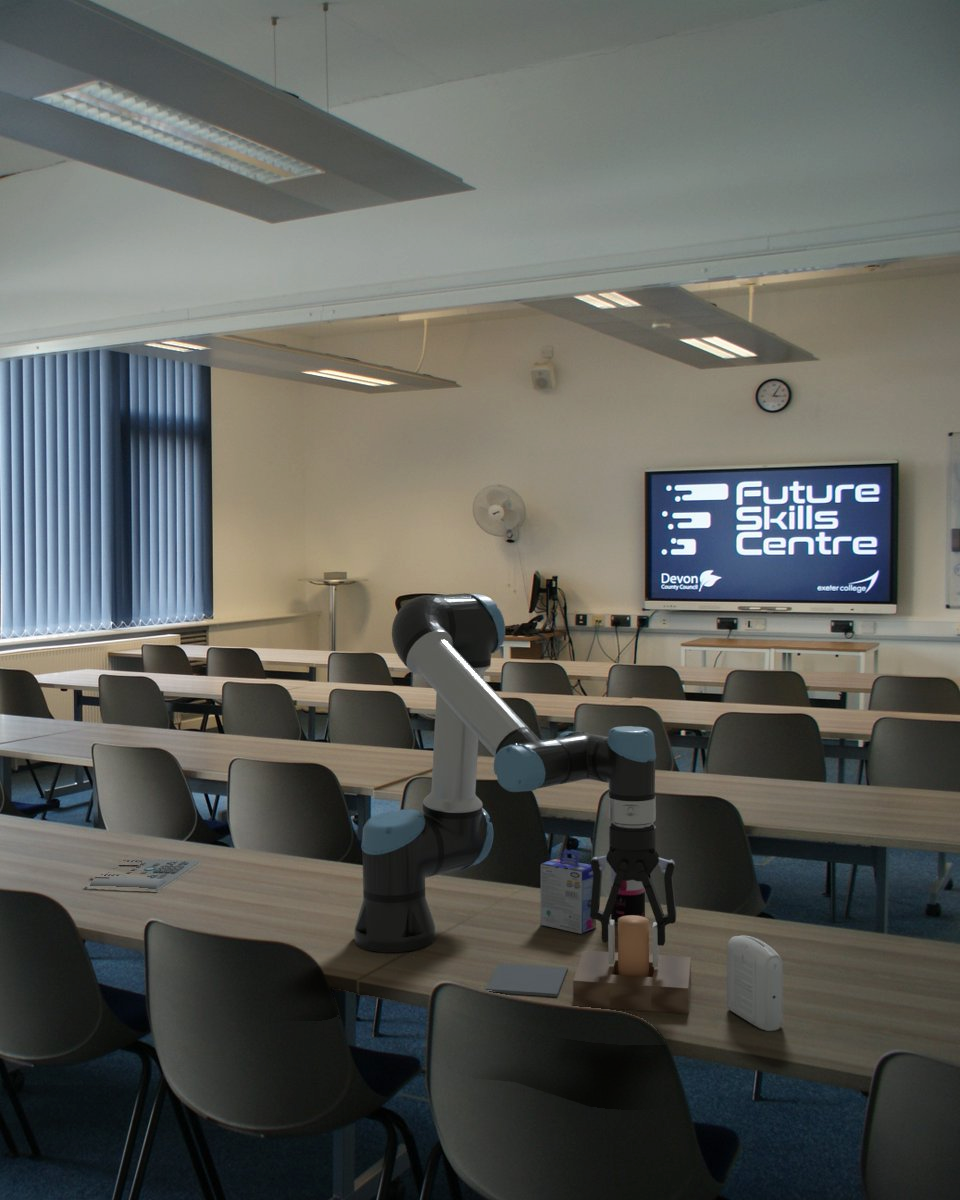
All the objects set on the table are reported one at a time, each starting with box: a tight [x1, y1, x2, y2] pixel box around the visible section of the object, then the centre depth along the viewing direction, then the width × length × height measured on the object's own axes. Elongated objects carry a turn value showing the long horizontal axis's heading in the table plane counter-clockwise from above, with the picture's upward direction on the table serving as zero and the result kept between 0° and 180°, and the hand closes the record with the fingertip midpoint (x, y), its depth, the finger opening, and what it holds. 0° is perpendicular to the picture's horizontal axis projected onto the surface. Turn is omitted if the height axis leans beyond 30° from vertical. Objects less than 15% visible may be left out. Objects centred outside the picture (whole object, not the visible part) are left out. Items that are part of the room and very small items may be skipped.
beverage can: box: [610, 866, 646, 926], centre depth 220 cm, size 6×6×15 cm
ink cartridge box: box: [539, 849, 597, 935], centre depth 218 cm, size 10×6×14 cm, turn 53°
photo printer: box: [726, 934, 784, 1032], centre depth 174 cm, size 10×4×12 cm, turn 24°
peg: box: [617, 915, 650, 977], centre depth 184 cm, size 5×5×12 cm
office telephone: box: [90, 859, 201, 891], centre depth 257 cm, size 23×3×20 cm
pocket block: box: [572, 950, 692, 1015], centre depth 185 cm, size 18×14×4 cm
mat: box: [484, 962, 569, 998], centre depth 190 cm, size 12×12×1 cm
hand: (633, 962), depth 185 cm, fingers open, 6 cm apart
